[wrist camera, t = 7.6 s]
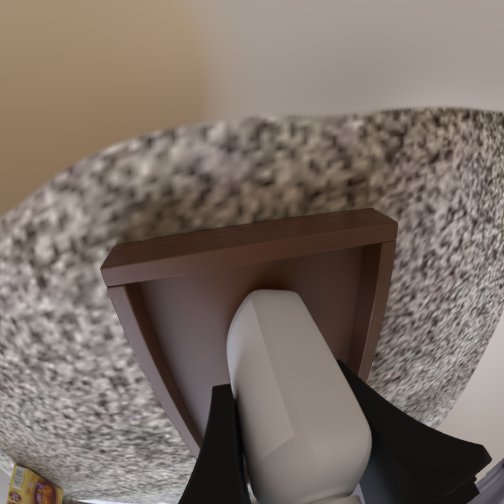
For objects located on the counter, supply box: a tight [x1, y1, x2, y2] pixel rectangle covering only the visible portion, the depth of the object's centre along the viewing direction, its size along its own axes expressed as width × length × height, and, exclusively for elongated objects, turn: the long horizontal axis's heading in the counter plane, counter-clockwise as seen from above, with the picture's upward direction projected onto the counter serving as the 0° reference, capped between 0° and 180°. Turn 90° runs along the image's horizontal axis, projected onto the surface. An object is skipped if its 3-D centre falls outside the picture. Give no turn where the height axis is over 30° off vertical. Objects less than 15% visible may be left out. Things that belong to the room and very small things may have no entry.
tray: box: [100, 208, 398, 485], centre depth 16 cm, size 25×12×2 cm, turn 6°
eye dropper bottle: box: [227, 289, 372, 504], centre depth 8 cm, size 4×6×12 cm
